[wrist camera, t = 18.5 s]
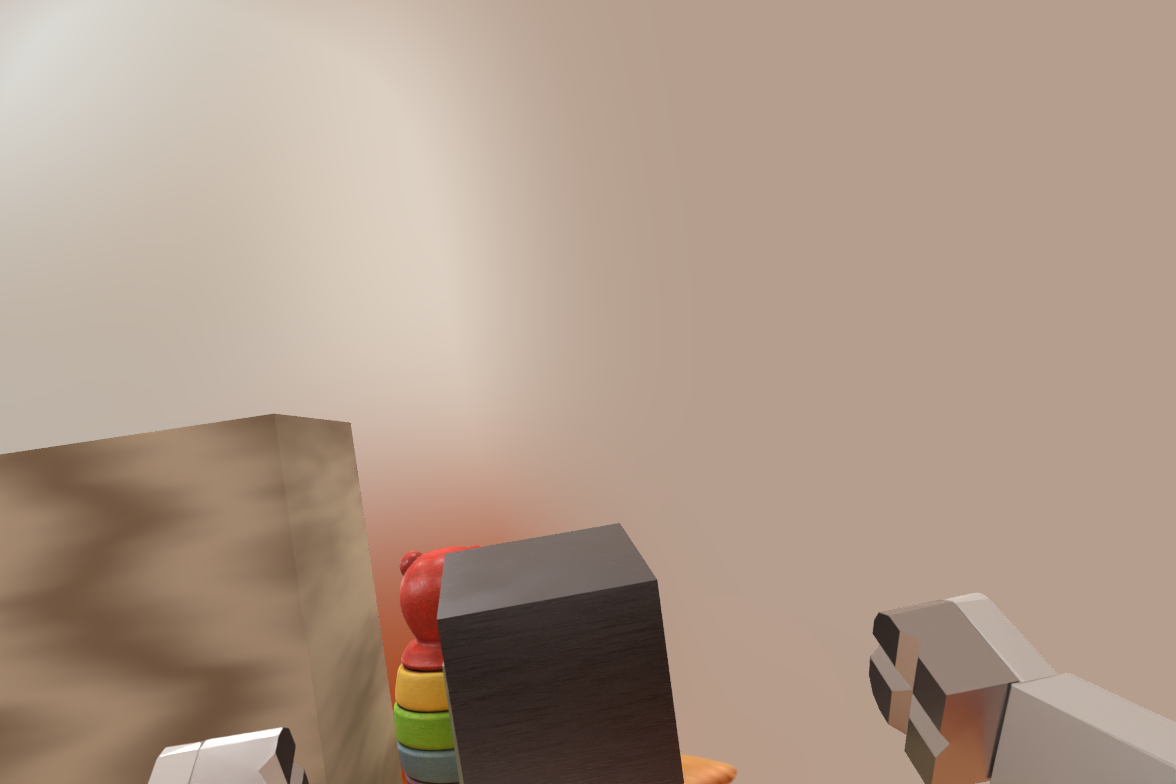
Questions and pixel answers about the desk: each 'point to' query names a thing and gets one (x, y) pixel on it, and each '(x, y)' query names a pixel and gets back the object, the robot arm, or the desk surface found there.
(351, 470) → the stand
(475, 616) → the grey t-shaped piece
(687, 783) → the desk surface
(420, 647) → the stacking bear
